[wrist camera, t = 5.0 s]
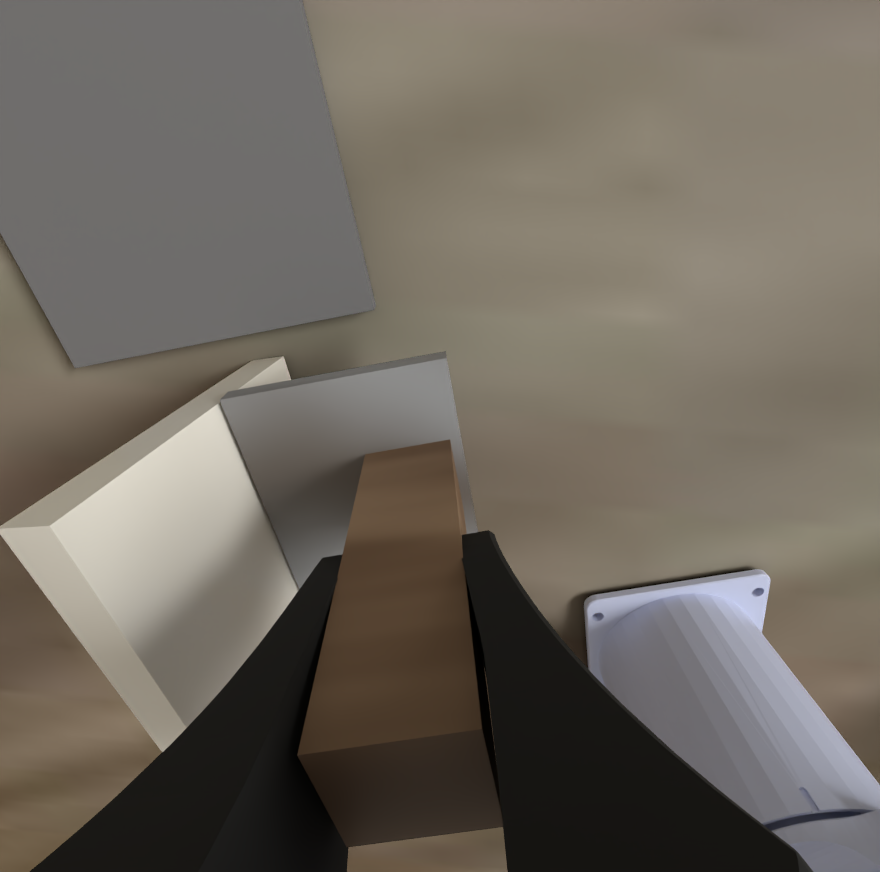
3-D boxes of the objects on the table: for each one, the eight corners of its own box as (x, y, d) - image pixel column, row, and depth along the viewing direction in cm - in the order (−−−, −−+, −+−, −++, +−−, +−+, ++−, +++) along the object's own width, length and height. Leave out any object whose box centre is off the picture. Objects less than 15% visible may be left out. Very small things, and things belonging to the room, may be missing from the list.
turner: (482, 554, 16) (538, 893, 8) (306, 582, 16) (198, 935, 8) (445, 351, 13) (480, 591, 5) (228, 391, 13) (-58, 676, 5)
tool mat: (375, 306, 16) (374, 309, 15) (86, 362, 16) (74, 368, 16) (272, -123, 11) (264, -139, 11) (-123, -25, 12) (-149, -36, 11)
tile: (340, 522, 19) (209, 761, 11) (308, 524, 19) (159, 758, 12) (283, 356, 16) (49, 525, 8) (246, 361, 16) (-13, 529, 8)
